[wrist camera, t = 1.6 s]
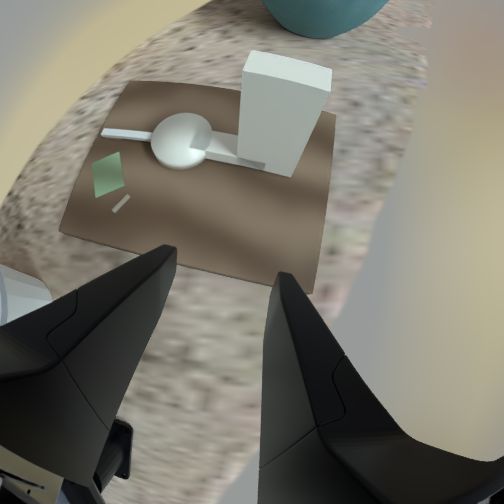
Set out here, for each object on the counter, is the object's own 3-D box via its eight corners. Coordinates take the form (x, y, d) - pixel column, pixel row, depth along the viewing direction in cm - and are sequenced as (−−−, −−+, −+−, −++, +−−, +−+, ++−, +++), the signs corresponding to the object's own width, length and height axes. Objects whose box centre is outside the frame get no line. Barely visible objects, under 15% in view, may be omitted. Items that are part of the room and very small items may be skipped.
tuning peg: (287, 194, 21) (328, 112, 11) (93, 157, 20) (39, 87, 11) (297, 142, 22) (332, 55, 12) (115, 113, 21) (79, 38, 12)
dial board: (308, 294, 21) (312, 293, 20) (65, 234, 20) (57, 230, 19) (332, 121, 24) (336, 114, 23) (132, 87, 24) (129, 80, 22)
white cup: (3, 298, 18) (-44, 292, 12) (38, 256, 20) (-10, 239, 13) (32, 357, 18) (-17, 366, 11) (70, 318, 19) (19, 318, 12)
